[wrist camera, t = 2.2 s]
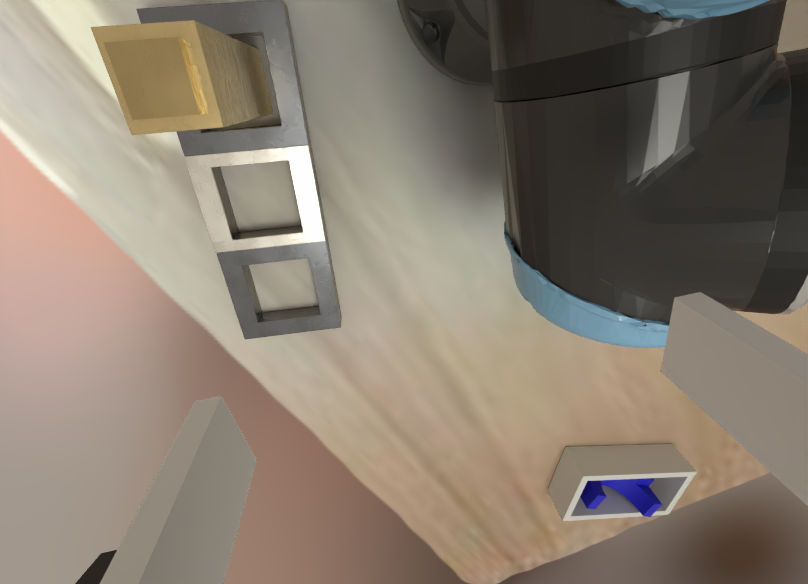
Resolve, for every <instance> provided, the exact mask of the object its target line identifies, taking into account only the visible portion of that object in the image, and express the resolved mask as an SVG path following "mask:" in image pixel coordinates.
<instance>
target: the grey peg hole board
mask: <svg viewBox="0 0 808 584" xmlns="http://www.w3.org/2000/svg"><path fill="white" fill-rule="evenodd" d="M137 12H138V15H139V18H140V21H141V24H146V23H161V22H176V21H191V20H195V21H197V22H199V23H201V24H204V25H206V26H208V27H210V28H212V29H215V30H217V31H219V32H221V33H223V34H226V35H228V36H230V37H232V38H236V37H251V36H264V41H265V46H266V50H267V55H268V60H269V65H270V70H271V75H272V80H273V84H274V89H275V94H276V99H277V104H278V109H279V114H280V118H281V123H282V125H275V126H263V127H252V128H240V129H229V130H217V131H209V129H197V130H185V131H177V134H178V137H179V140H180V143H181V146H182V149H183V153H184V156H185V157H184V159H185V162H186V165H187V168H188V171H189V174H190V177H191V180H192V183H193V186H194V189H195V192H196V195H197V198H198V201H199V204H200V207H201V210H202V213H203V217H204V220H205V223H206V226H207V229H208V232H209V235H210V238H211V241H212V244H213V247H214V250H215V253H217V256H218V259H219V262H220V265H221V268H222V271H223V274H224V277H225V281H226V284H227V287H228V290H229V293H230V296H231V299H232V302H233V305H234V308H235V311H236V314H237V317H238V320H239V323H240V326H241V329H242V332H243V335H244V338H245V339H252V338H260V337H268V336H276V335H284V334H292V333H300V332H307V331H315V330H323V329H331V328H339V327H341V312H340V306H339V301H338V295H337V289H336V284H335V278H334V272H333V267H332V261H331V255H330V250H329V244H328V238H327V233H326V227H325V221H324V216H323V210H322V204H321V199H320V193H319V187H318V182H317V176H316V170H315V165H314V159H313V153H312V148H311V142H310V136H309V131H308V125H307V119H306V114H305V108H304V102H303V97H302V91H301V85H300V80H299V74H298V68H297V63H296V57H295V51H294V46H293V40H292V34H291V29H290V23H289V17H288V12H287V6H286V4H285V3H284V2H283V0H268V1H252V2H237V3H221V4H206V5H190V6H175V7H159V8H144V9H137ZM284 160H289V164H290V169H291V174H292V179H293V184H294V189H295V193H296V198H297V203H298V208H299V213H300V218H301V222H302V226H295V227H286V228H277V229H267V230H258V231H248V232H239V231H238V228H237V224H236V221H235V218H234V214H233V211H232V207H231V204H230V200H229V197H228V193H227V190H226V187H225V183H224V180H223V176H222V173H221V169H220V166H231V165H242V164H252V163H263V162H274V161H284ZM304 258H309V259H310V264H311V269H312V274H313V279H314V284H315V289H316V293H317V298H318V303H319V306H313V307H305V308H297V309H289V310H280V311H272V312H264V313H262V311H261V307H260V304H259V300H258V297H257V293H256V290H255V286H254V283H253V280H252V276H251V273H250V269H249V266H248V265H251V264H260V263H269V262H277V261H286V260H295V259H304Z"/></svg>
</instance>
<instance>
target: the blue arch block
mask: <svg viewBox="0 0 808 584" xmlns="http://www.w3.org/2000/svg"><path fill="white" fill-rule="evenodd" d="M653 481H654V479H653V478H644V479H621V480H598V481H587V483H586V485H585V487H584V489H583V492H582V494H581V496H580V497H581V499H582V501H583V503H584V504H585V506H586V508H587V509H596V508H597V507H598V506H599V505H600V503H601V502H602V501H603V500H604V499H605V498H606V497H607V496H606V495H605V493H604V491H603V488H602V485H604V486H607V487H610V488H612V489H614V490H616V491H617V492H619V493H620V494H622V495H623V496H625V497H626V498H627V499H628V500H629V501H630V502H631V503H632V504H633V505H634V506H635V507H636V508H637V509H638V510H639V511H640V513H641V514H642V515H643V516H648V517H651V516H652V515H653V514H654V513H655V512H656V511H657V510H658V509H659V508H660V507H661V506H662V503H661V502H660V501H659V499H658V498H657V497H656V495H655V494H654V493H653V491H652V490H651V489H650V487H649V485H650V484H651V483H652V482H653Z"/></svg>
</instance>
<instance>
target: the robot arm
mask: <svg viewBox="0 0 808 584" xmlns="http://www.w3.org/2000/svg"><path fill="white" fill-rule="evenodd" d="M786 1H787V0H398V4H399V8H400V12H401V15H402V18H403V21H404V24H405V26H406V28H407V31H408V33H409V35H410V37H411V38H412V40H413V42H414V44H415V45H416V47H417V48H418V50H419V51H420V52H421V53H422V55H423V56H424V57H425V58H426V59H427V60H428V61H429V62H430V63H431V64H432V65H433V66H434V67H435V68H437V69H438V70H439V71H441V72H442V73H444V74H445V75H447V76H449V77H451V78H453V79H455V80H458V81H461V82H465V83H469V84H475V85H491V84H493V88H494V107H495V117H496V126H497V136H498V146H499V155H500V165H501V174H502V184H503V195H504V207H505V219H506V221H505V223H504V235H505V237H504V238H505V241H506V244H507V247H508V249H509V251H510V254H511V261H512V268H513V274H514V279H515V282H516V285H517V287H518V289H519V291H520V293H521V295H522V296H523V298H524V299H526V300H527V301H528V302H530V303H531V305H532V306H533V308H534V309H535V310H536V311H537V312H538V313H539V314H540V315H541V316H543V317H544V318H546V319H547V320H549V321H550V322H552V323H553V324H555V325H557V326H559V327H561V328H563V329H565V330H567V331H569V332H571V333H574V334H576V335H579V336H582V337H585V338H588V339H592V340H595V341H599V342H603V343H608V344H612V345H618V346H626V347H636V348H656V347H665V350H664V355H663V361H662V366H661V372H662V373H663V374H664V375H665V376H666V377H667V378H668V379H670V380H671V381H672V382H673V383H674V384H675V385H676V386H677V387H678V388H679V389H680V390H682V391H683V392H684V393H685V394H686V395H687V396H688V397H689V398H690V399H691V400H693V401H694V402H695V403H696V404H697V405H698V406H699V407H700V408H701V409H702V410H703V411H705V412H706V413H707V414H708V415H709V416H710V417H711V418H712V419H713V420H714V421H715V422H717V423H718V424H719V425H720V426H721V427H722V428H723V429H724V430H725V431H726V432H727V433H729V434H730V435H731V436H732V437H733V438H734V439H735V440H736V441H737V442H738V443H740V444H741V445H742V446H743V447H744V448H745V449H746V450H747V451H748V452H749V453H750V454H752V455H753V456H754V457H755V458H756V459H757V460H758V461H759V462H760V463H761V464H762V465H764V466H765V467H766V468H767V469H768V470H769V471H770V472H771V473H772V474H774V475H775V476H776V477H777V478H778V479H779V480H780V481H781V482H782V483H783V484H785V486H787V487H788V488H789V489H790V490H791V491H792V492H793V493H794V494H795V495H796V496H797V497H799V498H800V499H801V500H802V501H803V502H804V503H805V504H806V505H807V506H808V354H807V353H805V352H803V351H801V350H800V349H798V348H796V347H794V346H793V345H791V344H789V343H788V342H786V341H784V340H782V339H781V338H779V337H777V336H775V335H774V334H772V333H770V332H769V331H767V330H765V329H763V328H762V327H760V326H758V325H756V324H755V323H753V322H751V321H750V320H748V319H746V318H744V317H743V316H741V315H739V314H737V313H736V312H734V311H744V312H756V313H768V314H790V313H792V312H794V311H796V310H798V309H799V308H801V307H803V306H805V305H806V304H808V48H806V49H801V50H795V51H790V52H784V53H779V54H778V53H777V46H778V41H779V34H780V29H781V25H782V20H783V15H784V10H785V6H786ZM732 310H733V311H732ZM256 461H257V459H256V457H255V456H254V454H253V452H252V450H251V448H250V447H249V445H248V443H247V441H246V439H245V438H244V436H243V434H242V432H241V430H240V428H239V427H238V425H237V423H236V421H235V419H234V417H233V416H232V414H231V412H230V410H229V409H228V407H227V405H226V403H225V401H224V399H223V398H222V396H217V397H213V398H208V399H203V400H199V401H194V403H193V405H192V407H191V409H190V411H189V413H188V415H187V417H186V419H185V421H184V423H183V425H182V426H181V428H180V430H179V432H178V434H177V436H176V438H175V440H174V442H173V444H172V446H171V447H170V450H169V451H168V453H167V455H166V457H165V459H164V461H163V463H162V465H161V467H160V469H159V470H158V472H157V475H156V476H155V478H154V481H153V482H152V484H151V486H150V488H149V490H148V492H147V494H146V496H145V497H144V499H143V501H142V503H141V505H140V507H139V509H138V511H137V513H136V515H135V517H134V519H133V521H132V523H131V524H130V526H129V529H128V530H127V532H126V534H125V536H124V538H123V540H122V542H121V544H120V546H119V548H118V549H117V550H114V551H110V552H105V553H102V554H100V555H99V557H98V558H97V559H96V560H95V561H94V563H93V564H92V565H91V566H90V567H89V568H88V569H87V571H86V572H85V573H84V574H83V575H82V576H81V578H80V579H79V580H78V581H77V582H76V584H224V581H225V577H226V573H227V569H228V566H229V562H230V558H231V555H232V550H233V547H234V543H235V540H236V536H237V532H238V528H239V525H240V521H241V517H242V513H243V510H244V506H245V502H246V498H247V495H248V491H249V487H250V483H251V480H252V476H253V472H254V468H255V465H256Z"/></svg>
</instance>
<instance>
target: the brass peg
mask: <svg viewBox="0 0 808 584" xmlns="http://www.w3.org/2000/svg"><path fill="white" fill-rule="evenodd" d="M91 29H92V32H93V35H94V37H95V40H96V42H97V45H98V48H99V50H100V53H101V56H102V58H103V61H104V63H105V66H106V69H107V71H108V74H109V77H110V79H111V82H112V84H113V87H114V90H115V92H116V95H117V98H118V100H119V103H120V105H121V108H122V111H123V113H124V116H125V119H126V121H127V124H128V126H129V129H130V132H131V134H132V135H139V134H151V133H162V132H174V131H185V130H197V129H209V128H220V127H226V126H230V125H234V124H237V123H241V122H245V121H248V120H252V119H256V118H260V117H263V116H267V115H271V114H273V112H272V107H271V103H270V98H269V93H268V88H267V84H266V79H265V74H264V70H263V65H262V60H261V56H260V51H259V49H256V48H254V47H252V46H250V45H248V44H245V43H243V42H241V41H239V40H237V39H234V38H232V37H230V36H228V35H226V34H223V33H221V32H219V31H217V30H215V29H212V28H210V27H208V26H206V25H204V24H201V23H199V22H197V21H195V20H191V21H176V22H161V23H146V24H131V25H116V26H101V27H91Z"/></svg>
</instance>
